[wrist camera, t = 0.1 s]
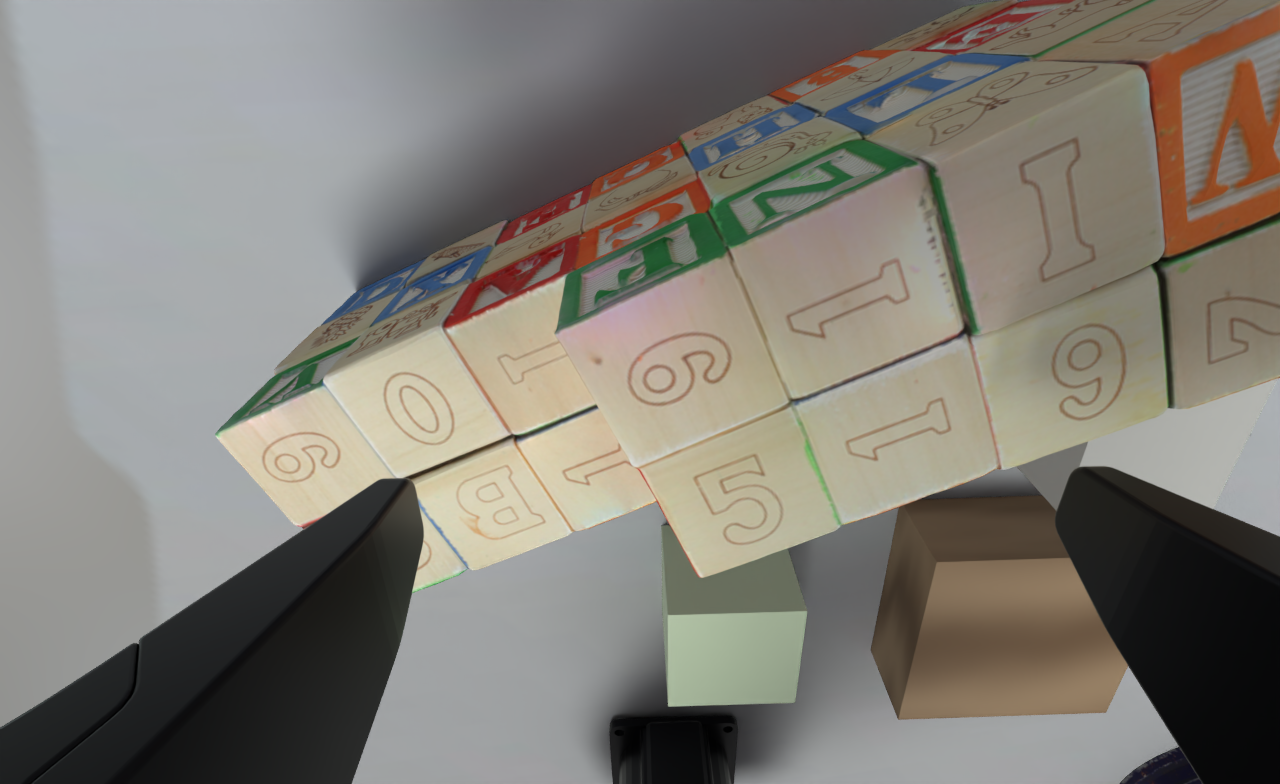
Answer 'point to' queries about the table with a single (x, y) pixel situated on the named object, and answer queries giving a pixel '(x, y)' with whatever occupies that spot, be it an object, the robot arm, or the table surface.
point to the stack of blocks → (823, 296)
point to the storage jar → (1164, 770)
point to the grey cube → (1165, 449)
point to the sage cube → (731, 630)
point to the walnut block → (989, 615)
